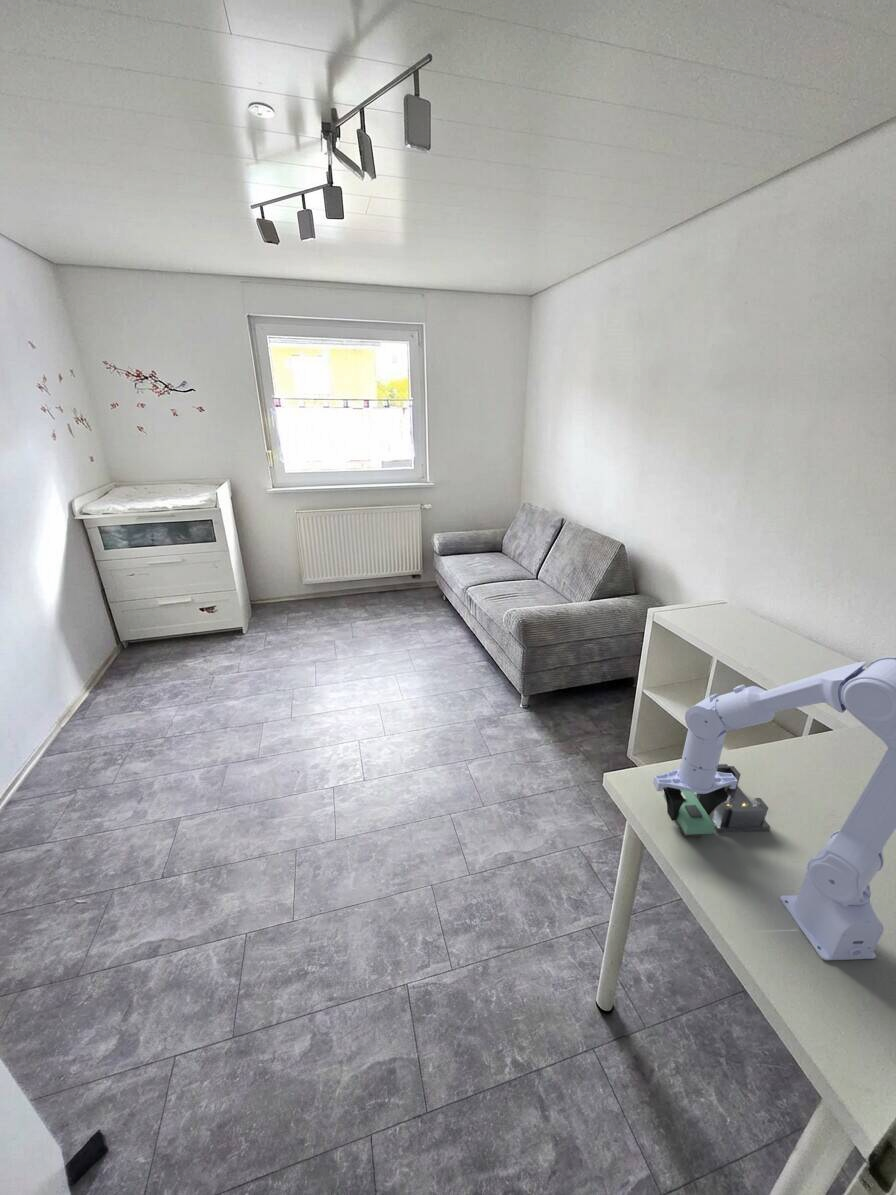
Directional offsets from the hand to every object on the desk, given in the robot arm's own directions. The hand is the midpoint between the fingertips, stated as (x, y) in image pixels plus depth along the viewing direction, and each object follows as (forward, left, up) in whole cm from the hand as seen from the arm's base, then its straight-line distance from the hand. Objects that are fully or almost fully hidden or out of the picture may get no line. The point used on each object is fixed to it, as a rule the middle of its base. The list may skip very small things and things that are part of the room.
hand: (686, 815), depth 90 cm
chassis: (+4, -10, -2) cm, 11 cm away
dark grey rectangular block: (0, 0, -2) cm, 2 cm away
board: (0, 0, 0) cm, 0 cm away
